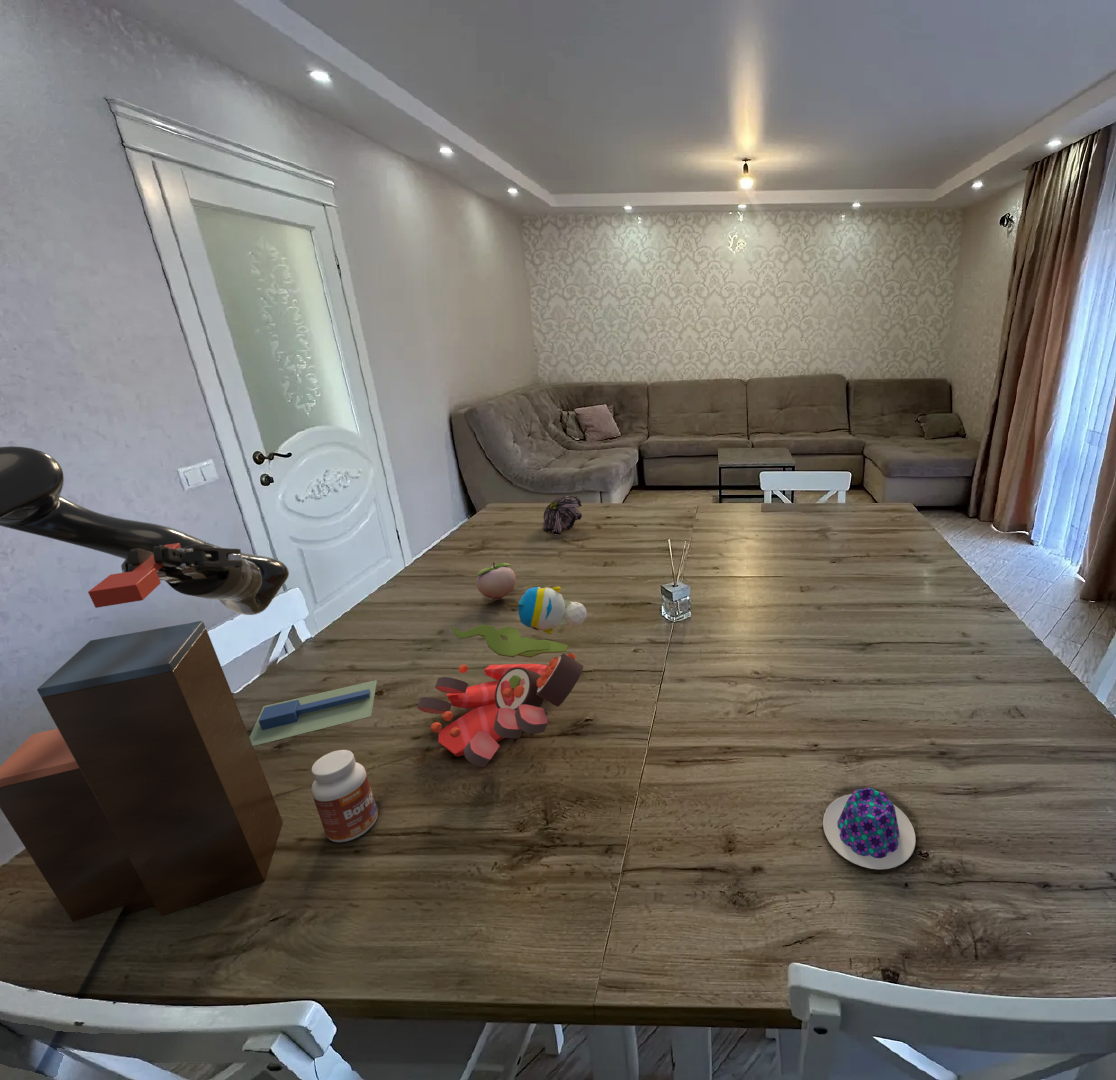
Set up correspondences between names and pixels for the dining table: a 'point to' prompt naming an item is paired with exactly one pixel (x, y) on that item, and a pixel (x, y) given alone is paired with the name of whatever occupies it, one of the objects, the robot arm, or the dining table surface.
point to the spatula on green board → (318, 714)
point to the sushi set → (509, 681)
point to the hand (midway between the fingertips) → (146, 555)
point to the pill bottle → (343, 796)
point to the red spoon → (128, 584)
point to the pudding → (869, 830)
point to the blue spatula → (304, 709)
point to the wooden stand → (142, 779)
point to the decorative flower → (561, 514)
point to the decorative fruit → (496, 581)
